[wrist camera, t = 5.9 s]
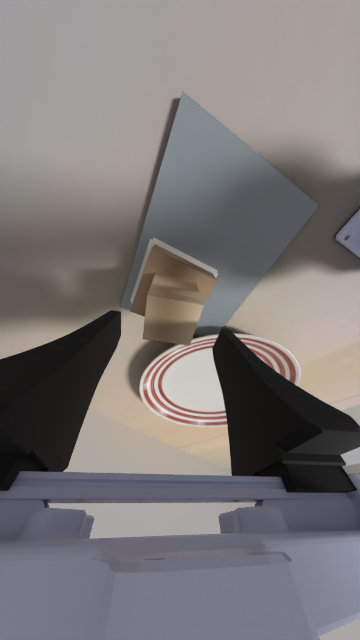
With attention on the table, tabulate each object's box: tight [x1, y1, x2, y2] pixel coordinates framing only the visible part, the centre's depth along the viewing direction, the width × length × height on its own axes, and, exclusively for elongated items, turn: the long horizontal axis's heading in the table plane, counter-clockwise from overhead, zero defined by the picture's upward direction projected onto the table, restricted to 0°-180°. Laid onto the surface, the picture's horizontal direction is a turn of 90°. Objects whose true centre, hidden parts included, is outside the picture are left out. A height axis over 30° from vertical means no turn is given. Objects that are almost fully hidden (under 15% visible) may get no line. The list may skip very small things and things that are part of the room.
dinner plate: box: [139, 333, 301, 427], centre depth 28 cm, size 27×27×3 cm
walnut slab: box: [130, 244, 218, 316], centre depth 17 cm, size 7×7×2 cm
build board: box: [120, 92, 320, 336], centre depth 16 cm, size 14×18×1 cm
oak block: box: [143, 273, 204, 346], centre depth 13 cm, size 4×4×5 cm
